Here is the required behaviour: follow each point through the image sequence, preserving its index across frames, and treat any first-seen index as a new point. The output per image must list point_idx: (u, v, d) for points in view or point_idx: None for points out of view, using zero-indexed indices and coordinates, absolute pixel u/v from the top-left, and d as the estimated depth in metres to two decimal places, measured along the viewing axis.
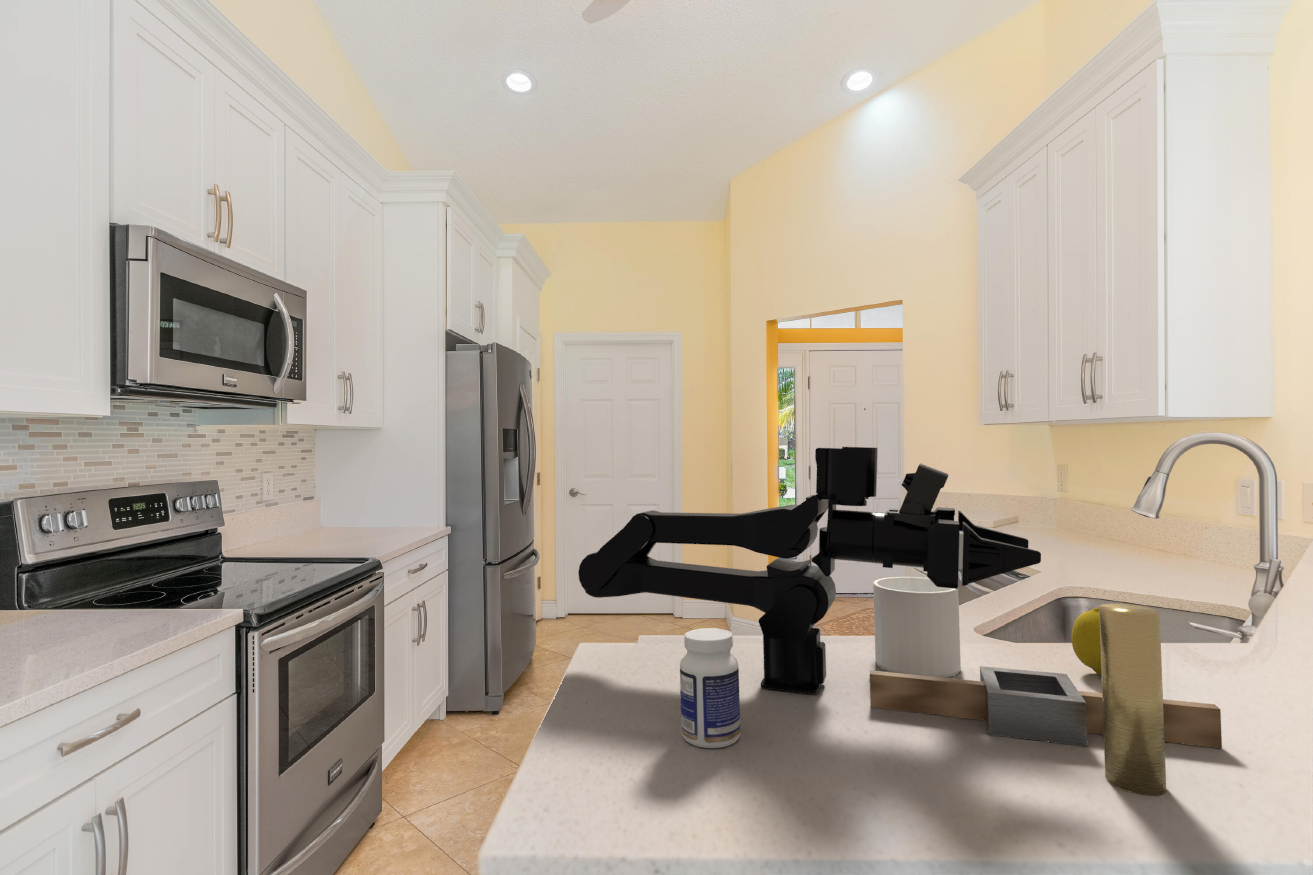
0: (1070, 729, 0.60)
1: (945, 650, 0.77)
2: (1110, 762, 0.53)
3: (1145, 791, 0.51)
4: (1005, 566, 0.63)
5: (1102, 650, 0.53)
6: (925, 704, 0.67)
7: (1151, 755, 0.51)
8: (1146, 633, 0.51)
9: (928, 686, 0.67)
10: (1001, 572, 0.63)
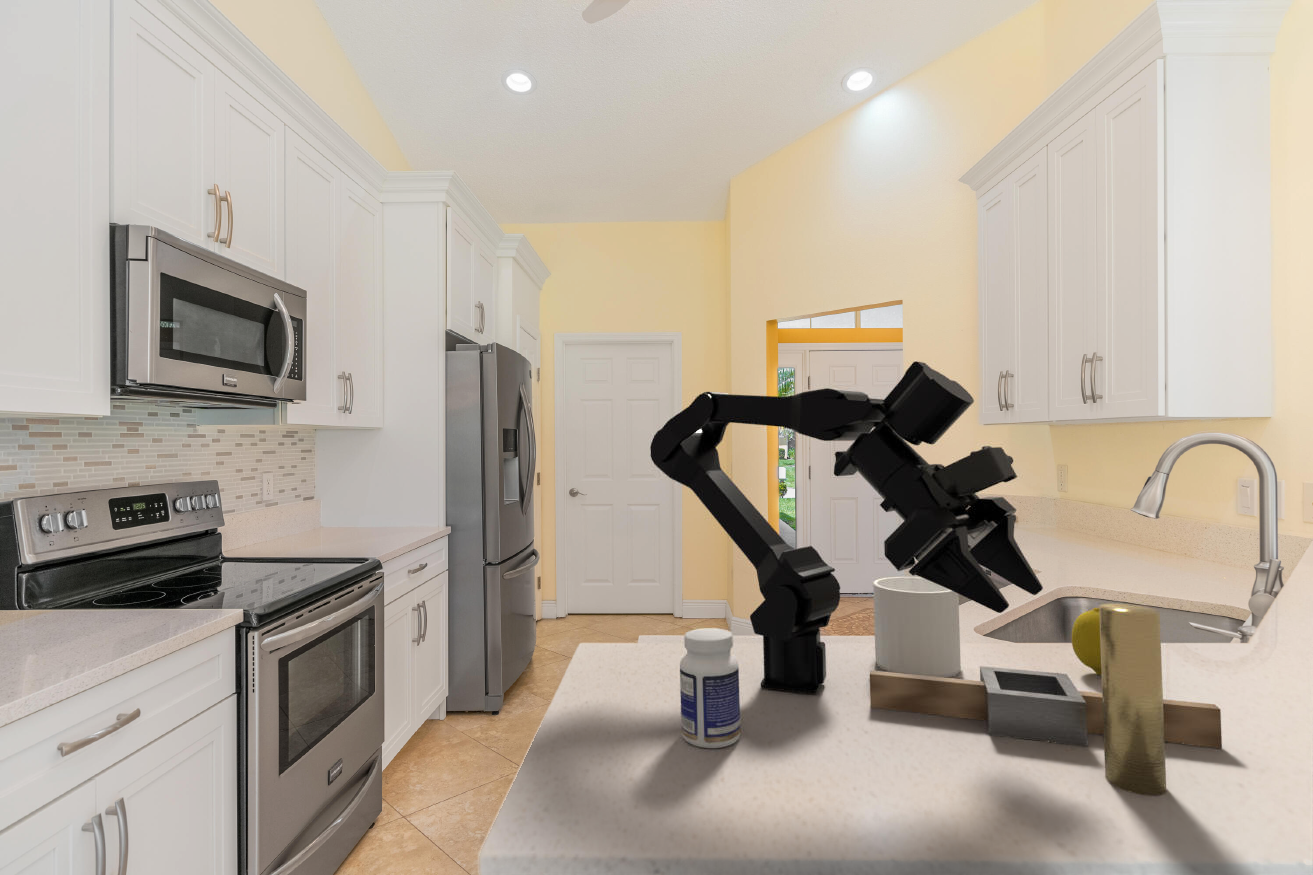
0: (1070, 729, 0.60)
1: (945, 650, 0.77)
2: (1110, 762, 0.53)
3: (1145, 791, 0.51)
4: (964, 589, 0.57)
5: (1102, 650, 0.53)
6: (925, 704, 0.67)
7: (1151, 755, 0.51)
8: (1146, 633, 0.51)
9: (928, 686, 0.67)
10: (956, 591, 0.57)
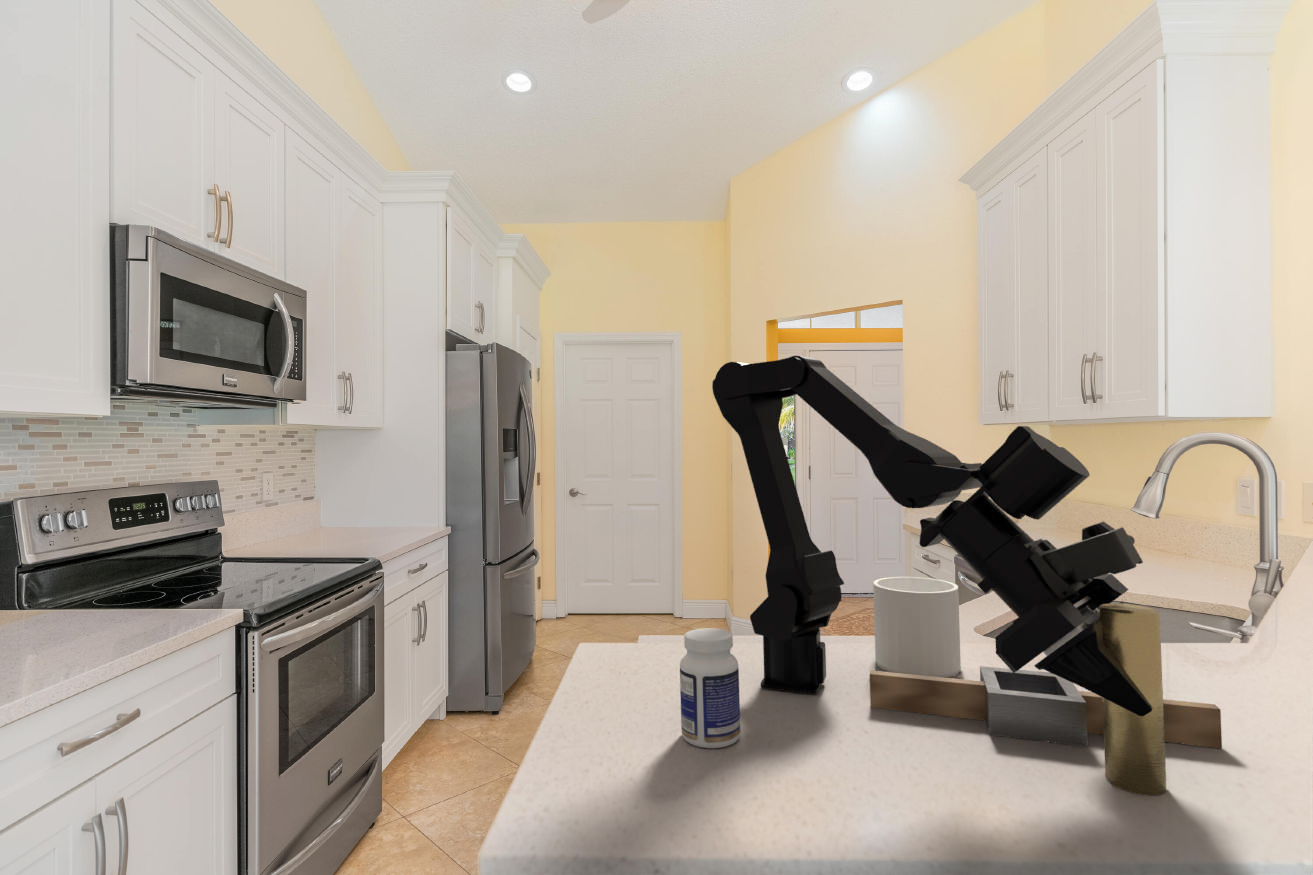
0: (1070, 729, 0.60)
1: (945, 650, 0.77)
2: (1111, 762, 0.53)
3: (1145, 791, 0.51)
4: (1099, 688, 0.52)
5: None
6: (925, 704, 0.67)
7: (1151, 755, 0.51)
8: (1146, 633, 0.51)
9: (928, 686, 0.67)
10: (1089, 689, 0.52)
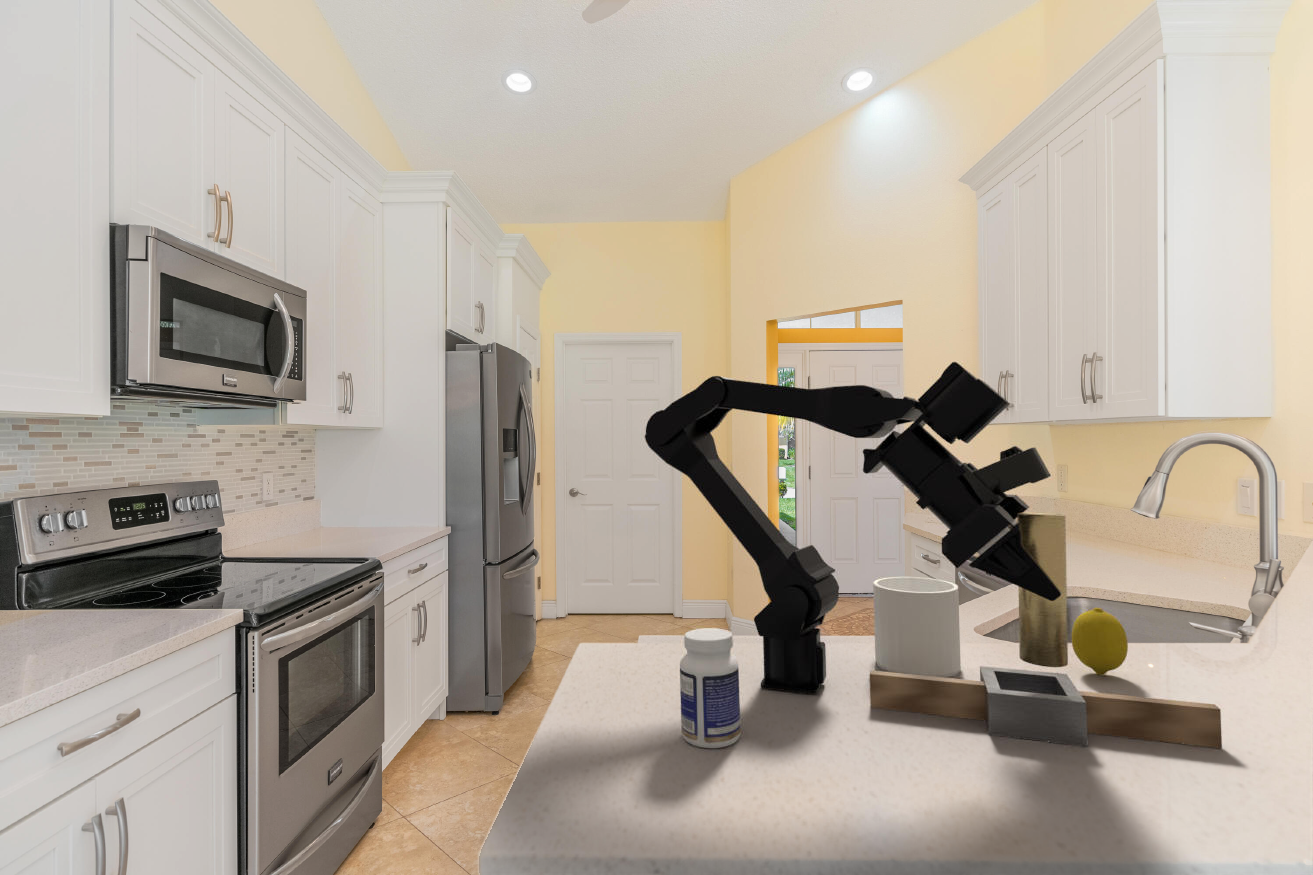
0: (1070, 729, 0.60)
1: (945, 650, 0.77)
2: (1026, 644, 0.62)
3: (1054, 664, 0.60)
4: (1020, 580, 0.61)
5: None
6: (925, 704, 0.67)
7: (1059, 633, 0.61)
8: (1057, 532, 0.61)
9: (928, 686, 0.67)
10: (1011, 581, 0.61)
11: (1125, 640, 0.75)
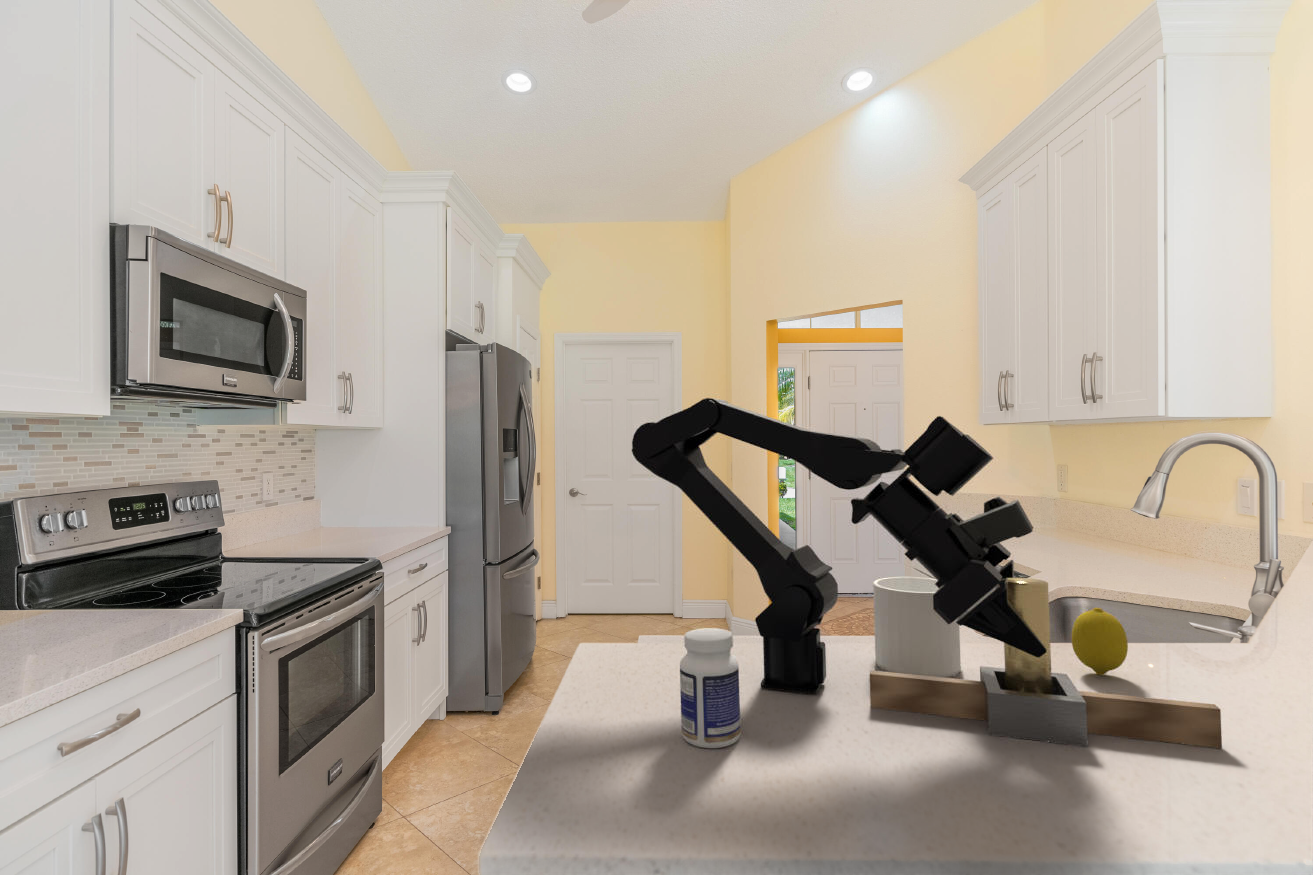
0: (1070, 729, 0.60)
1: (945, 650, 0.77)
2: None
3: None
4: (1006, 637, 0.61)
5: None
6: (925, 704, 0.67)
7: None
8: (1041, 600, 0.63)
9: (928, 686, 0.67)
10: (998, 638, 0.61)
11: (1125, 640, 0.75)
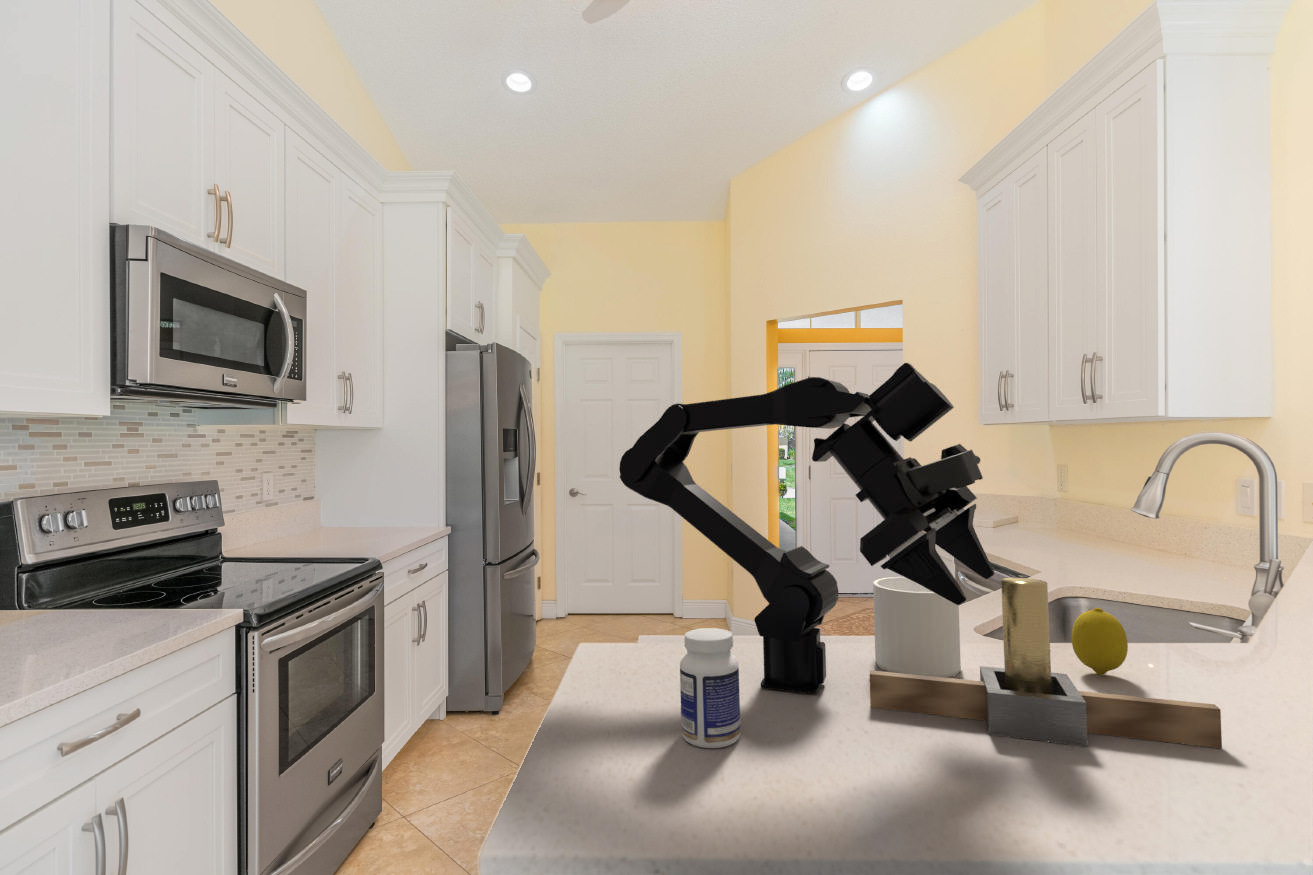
0: (1070, 729, 0.60)
1: (945, 650, 0.77)
2: None
3: None
4: (928, 583, 0.63)
5: (1005, 616, 0.64)
6: (925, 704, 0.67)
7: None
8: (1040, 600, 0.63)
9: (928, 686, 0.67)
10: (921, 584, 0.64)
11: (1125, 640, 0.75)
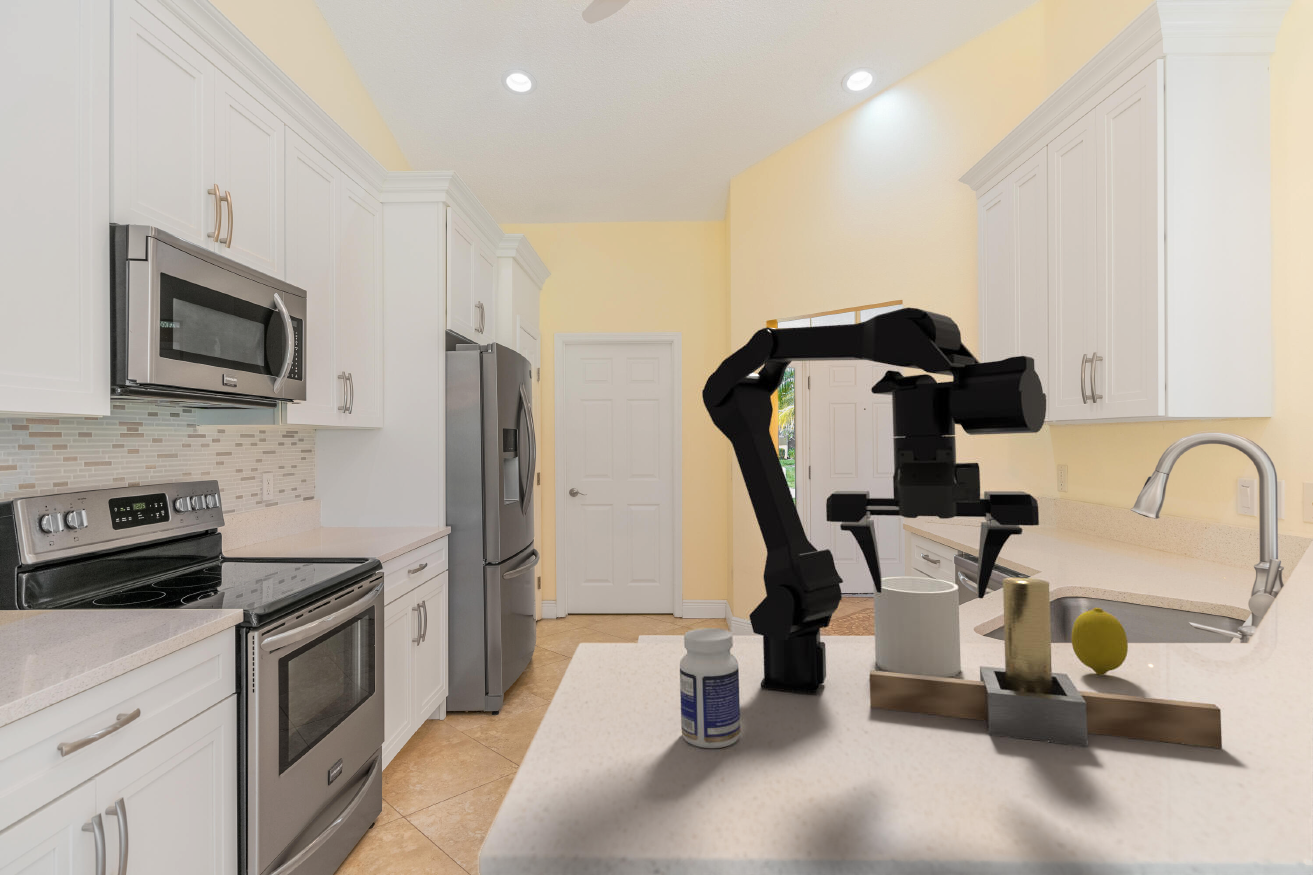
0: (1070, 729, 0.60)
1: (945, 650, 0.77)
2: None
3: None
4: None
5: (1006, 616, 0.64)
6: (925, 704, 0.67)
7: None
8: (1042, 600, 0.63)
9: (928, 686, 0.67)
10: None
11: (1125, 640, 0.75)
